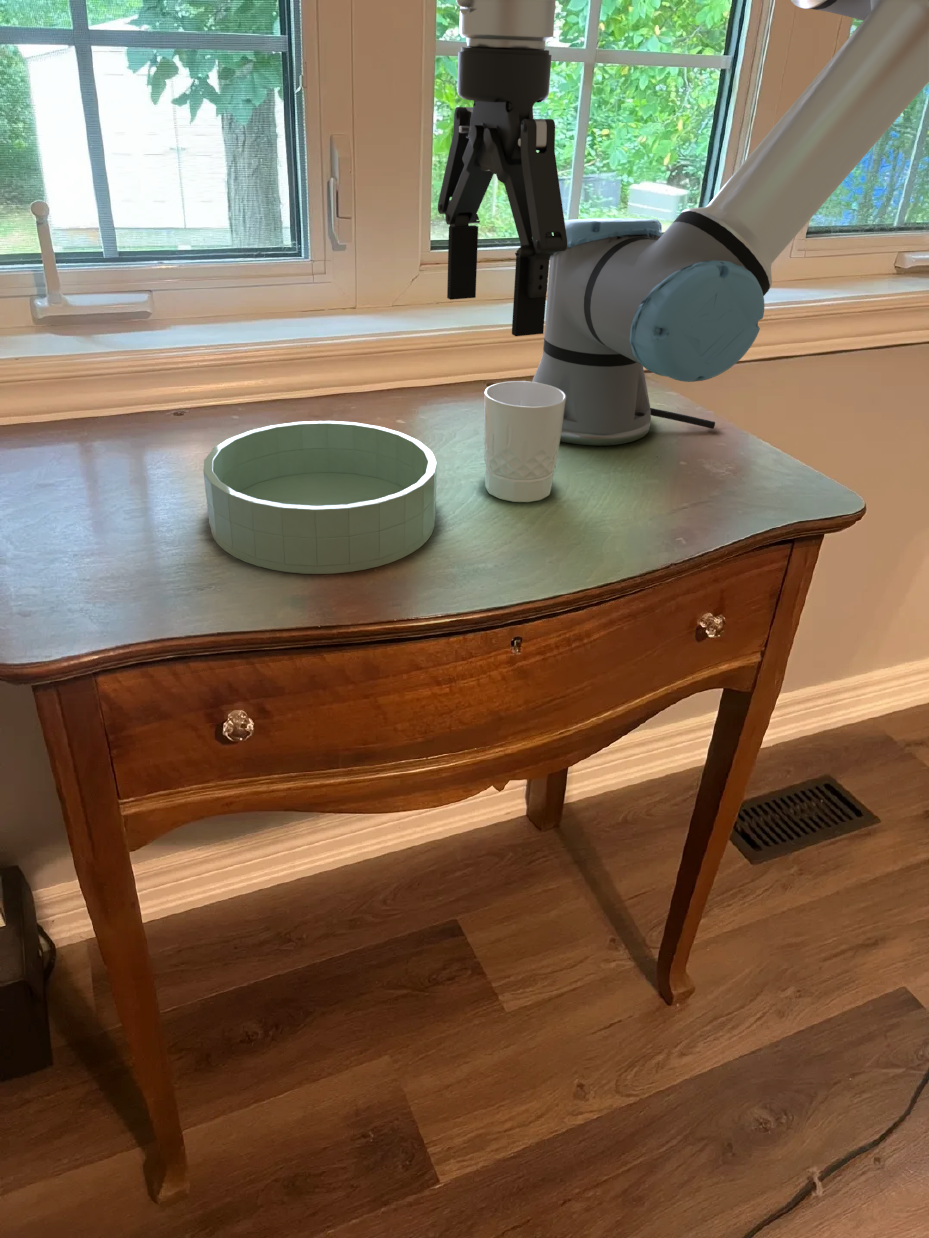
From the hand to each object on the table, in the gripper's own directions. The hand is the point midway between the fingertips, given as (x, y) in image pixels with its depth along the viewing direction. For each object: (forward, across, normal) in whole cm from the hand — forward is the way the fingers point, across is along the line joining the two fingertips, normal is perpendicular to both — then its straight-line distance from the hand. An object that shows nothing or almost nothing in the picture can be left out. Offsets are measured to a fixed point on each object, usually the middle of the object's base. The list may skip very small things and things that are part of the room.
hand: (492, 315), depth 86 cm
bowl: (+17, +2, -17) cm, 24 cm away
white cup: (+18, +1, +3) cm, 18 cm away
